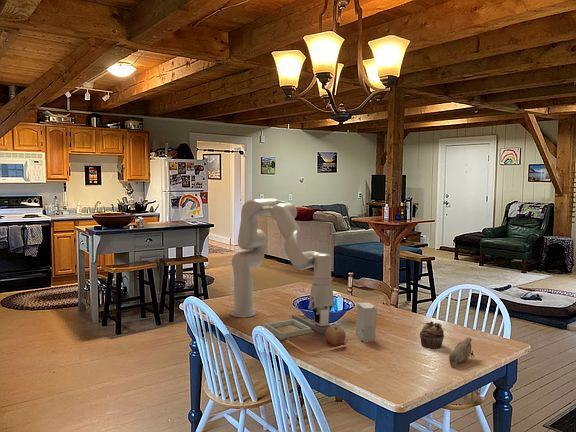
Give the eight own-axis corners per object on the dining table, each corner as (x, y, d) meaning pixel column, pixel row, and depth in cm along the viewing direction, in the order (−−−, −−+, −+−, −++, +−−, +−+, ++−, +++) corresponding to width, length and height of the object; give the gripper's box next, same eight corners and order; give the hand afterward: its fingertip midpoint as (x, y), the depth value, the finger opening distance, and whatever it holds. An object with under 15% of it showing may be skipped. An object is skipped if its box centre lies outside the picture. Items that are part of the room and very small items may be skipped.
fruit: (329, 349, 190) (329, 330, 189) (322, 342, 198) (323, 324, 197) (348, 347, 192) (348, 328, 191) (340, 341, 200) (341, 322, 199)
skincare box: (355, 336, 206) (356, 302, 205) (368, 335, 208) (369, 301, 206) (362, 342, 198) (363, 307, 197) (376, 341, 200) (377, 306, 198)
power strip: (286, 318, 232) (286, 310, 231) (298, 316, 235) (298, 308, 235) (322, 336, 205) (323, 328, 205) (336, 334, 209) (336, 326, 208)
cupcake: (445, 344, 197) (446, 321, 196) (440, 351, 188) (441, 327, 188) (422, 340, 202) (423, 317, 201) (416, 347, 193) (417, 323, 192)
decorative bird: (444, 365, 175) (445, 346, 174) (462, 354, 186) (463, 335, 186) (458, 370, 171) (459, 349, 170) (476, 357, 183) (476, 338, 182)
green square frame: (264, 330, 212) (264, 323, 212) (293, 325, 220) (293, 319, 220) (281, 340, 200) (281, 333, 199) (311, 334, 207) (311, 328, 207)
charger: (314, 327, 213) (314, 307, 212) (321, 325, 215) (322, 306, 214) (320, 330, 209) (321, 310, 208) (328, 328, 211) (328, 309, 210)
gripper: (332, 277, 218) (331, 316, 219) (301, 281, 209) (301, 322, 211) (342, 281, 211) (341, 321, 213) (311, 285, 203) (310, 326, 204)
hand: (321, 321), depth 212 cm, fingers closed on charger, 4 cm apart
